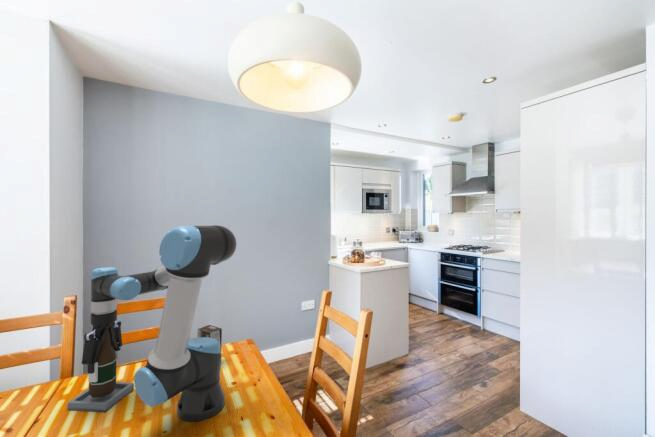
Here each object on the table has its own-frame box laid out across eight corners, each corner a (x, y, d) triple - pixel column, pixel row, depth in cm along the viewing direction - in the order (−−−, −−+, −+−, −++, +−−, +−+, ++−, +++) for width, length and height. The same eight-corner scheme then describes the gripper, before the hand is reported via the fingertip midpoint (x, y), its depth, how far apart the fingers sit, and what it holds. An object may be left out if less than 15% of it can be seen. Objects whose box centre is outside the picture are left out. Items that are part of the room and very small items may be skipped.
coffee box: (221, 364, 133) (222, 328, 133) (209, 370, 128) (210, 333, 128) (208, 359, 138) (209, 324, 138) (196, 364, 133) (197, 328, 133)
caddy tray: (133, 389, 113) (133, 382, 113) (105, 412, 100) (105, 404, 100) (100, 387, 114) (100, 380, 114) (67, 409, 101) (67, 402, 101)
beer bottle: (101, 399, 102) (102, 329, 102) (82, 396, 104) (84, 327, 104) (121, 387, 110) (122, 321, 110) (103, 384, 111) (104, 320, 111)
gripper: (116, 302, 117) (115, 360, 117) (67, 320, 97) (66, 391, 97) (134, 303, 117) (133, 361, 117) (89, 321, 96) (88, 392, 96)
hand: (103, 375), depth 107 cm, fingers closed on beer bottle, 8 cm apart
